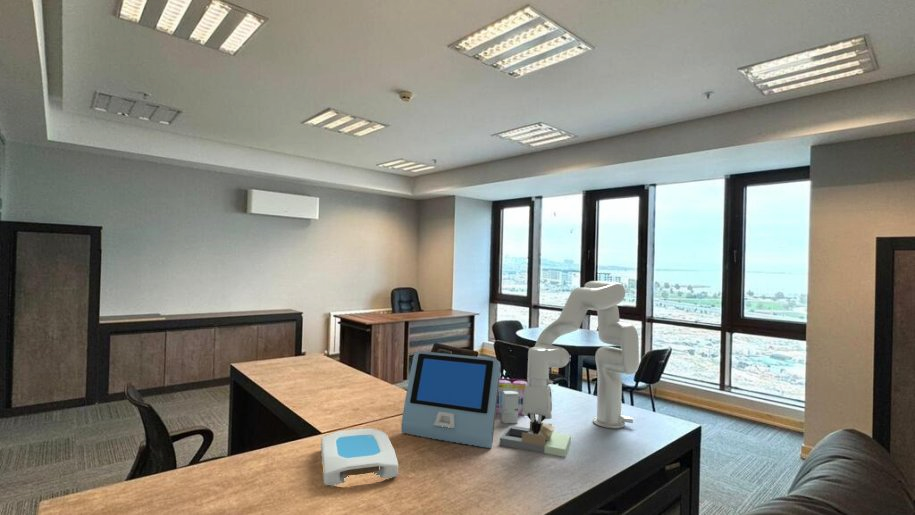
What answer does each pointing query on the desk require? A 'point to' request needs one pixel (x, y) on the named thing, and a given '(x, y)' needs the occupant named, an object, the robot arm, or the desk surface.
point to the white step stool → (357, 454)
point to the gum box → (511, 385)
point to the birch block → (546, 431)
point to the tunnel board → (535, 440)
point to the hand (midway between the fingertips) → (536, 432)
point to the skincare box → (510, 407)
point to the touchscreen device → (452, 398)
